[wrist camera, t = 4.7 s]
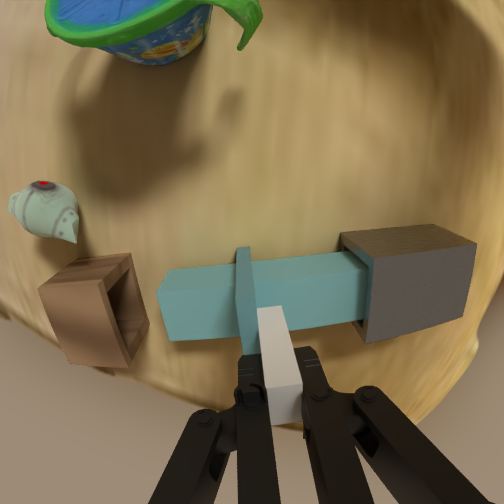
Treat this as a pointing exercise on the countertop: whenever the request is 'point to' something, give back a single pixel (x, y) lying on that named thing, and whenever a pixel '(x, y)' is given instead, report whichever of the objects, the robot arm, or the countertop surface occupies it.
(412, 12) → the countertop surface
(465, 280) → the sleeve
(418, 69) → the countertop surface
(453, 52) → the countertop surface
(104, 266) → the socket block
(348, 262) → the tube
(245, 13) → the snack cup
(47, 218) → the robot head
